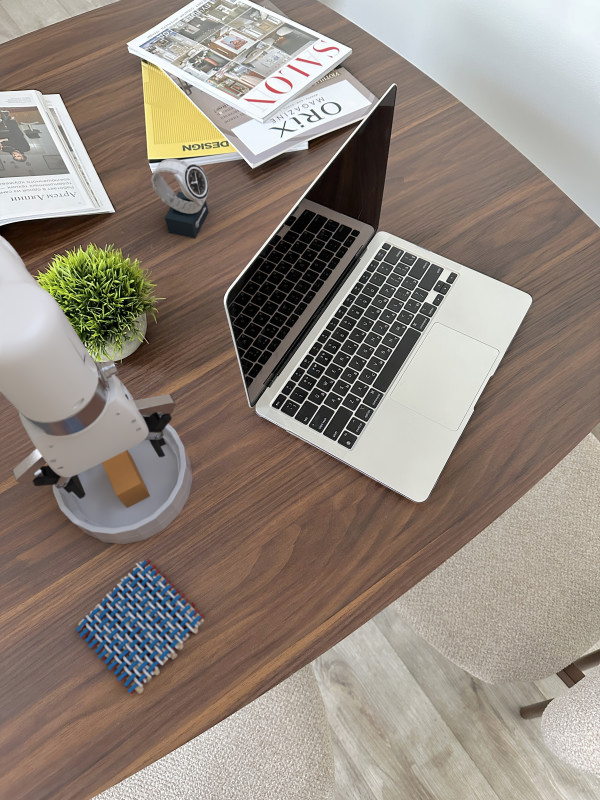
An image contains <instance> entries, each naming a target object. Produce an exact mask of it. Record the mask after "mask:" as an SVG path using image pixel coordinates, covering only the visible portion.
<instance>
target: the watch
mask: <svg viewBox="0 0 600 800" xmlns="http://www.w3.org/2000/svg"><path fill="white" fill-rule="evenodd" d="M160 173H171V174H174V175H173V177H174V179H175V181H176V182H177V183H178V184H179V188H180V190H181V191H178V192H177V194H176V192H175V191H173V189H172V188H171V186H169V184H168V183H167V182H166V180H165V179H164V177H163V176H161V174H160ZM150 179H151V180H150V181H151V184H152V189H153V190H154V192H155V194H156V195H157V196H158V197H159V199H160V200H161V202H163V203H164V204H165V205H166V206H167V207H169V209H168V211H167V213H166V215H165V216H164V220H165V224H166V228H167V231H168V233H169V234H173V235H178V236H182V237H187V238H191V239H196V238H197V236H198V234H199V232H200V230H201V228H202V226H203V225H204V223H205V220H206V218H207V216H208V214H209V208H208V204H207V197H208V196H209V192H210V183H209V179H208V176H207V173H206V171H204V168H203V167H202V166H200V165H198V164H196V163H191V162H189V161H186V160H185V159H183V160H181V159H177V158H166V159H164V160H161V161H160V162H159V163H158V165H157V166H156V168H155V170H154V172H153V173H152V175H151V178H150Z"/></svg>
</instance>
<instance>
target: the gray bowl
mask: <svg viewBox="0 0 600 800" xmlns="http://www.w3.org/2000/svg"><path fill="white" fill-rule="evenodd" d="M163 433H164V436H163V438H164V440H165V442H166V444H165V445H163V446H161V448H162V450H163V452H164V454H165V456H164V457H162V458H161V457H159V456H158V455H157V453H156V451H155V450H154V448H153V446H152V445H151V443H150V441H149V440H143V441H142V442H141V443H139V444H137V445H136V446H134V447H132V448H130V449H128V452H129V453H130V455H131V456H132V458H133V460H134V462H135V464H136V467H137V469H138V471H139V473H140V475H141V477H142V479H143V481H144V484H145V486H146V488H147V490H148V492H149V494H150V496H149V497H148V498H146V499H144V500H142V501H140V502H138V503H136V504H134V505H132V506H130V507H128V508H127V507H126V506H125V505H124V504H123V502H122V501H121V500H120V499H119V498H118V497H117V495H116V493H115V491H114V489H113V487H112V484H111V482H110V480H109V478H108V475H107V473H106V471H105V469H104V466H103V464H102V463H100V464H98V465H96V466H94V467H92V468H90V469H88V470H86V471H84V472H82V473H79V474H77V475H78V477H79V480H80V482H81V484H82V487H83V489H84V492H85V494H86V495H85V497H83V498H81V499H79V498H78V497H77V496H76V495H75V494H74V493H73V492H70V493H68V492H67V491H66V490H65V489H64V488H60V489H57V488H56V487H55V485H52V492H53V494H54V497H55V500H56V502H57V505H58V507H59V509H60V510H61V512H62V513H63V514H64V515H65V516H66V517H67V518H68V519H69V521H71V522H72V523H73V524H74V525H75V526H76V527H77V528H79V530H81V531H82V532H83V533H84V534H86V535H88V536H89V537H92V538H94V539H96V540H99V541H100V542H102V543H106V544H107V543H108V544H117V545H127V544H132V543H137V542H143V541H146V540H147V539H150V538H151V537H153V536H155V535H158V534H159V533H160V532H163V531H164V530H165V529H166V528H167V527H168V526H169V525H170V524H171V523H173V521H174V520H175V519H176V518H178V516H180V514H181V512H182V510H183V508H184V507H185V505H186V503H187V501H188V499H189V497H190V494H191V489H192V485H193V469H192V462H191V458H190V456H189V454H188V452H187V450H186V447H185V445H184V444H183V442H182V440H181V438H180V436H179V434H178V432H177V431H176V429H175V428H174V427H173V426H172V425H171V424H169V423H168V424H167V426H166V427H165V428H164V430H163Z"/></svg>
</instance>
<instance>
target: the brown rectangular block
mask: <svg viewBox="0 0 600 800" xmlns="http://www.w3.org/2000/svg"><path fill="white" fill-rule="evenodd" d="M102 464H103V466H104V469H105V471H106V473H107V475H108V478H109V480H110V482H111V484H112V487H113V489H114V491H115V493H116V495H117V497H118V498H119V499H120V500H121V501H122V502H123V504H124V505H125V506H126V507H127V508H128V507H130V506H132V505H134V504H136V503H138V502H140V501H142V500H144V499H146V498H148V497H149V496H150V494H149V492H148V490H147V488H146V486H145V484H144V481H143V479H142V477H141V475H140V473H139V471H138V469H137V467H136V464H135V462H134V460H133V458H132V456H131V455H130V453H129V452H128V450H126V451H124V452H122V453H120V454H118V455H116V456H114V457H112V458H110V459H108V460H106V461H104V462H102Z"/></svg>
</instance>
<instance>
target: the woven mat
mask: <svg viewBox="0 0 600 800" xmlns="http://www.w3.org/2000/svg"><path fill="white" fill-rule="evenodd" d="M151 562H152V561H151V560H150V559H149V558H148V559H147V560H146V559H145V560H142V561H141V560H140V561H139V562H136V563H135V565H136V566H135V567H133V568H132V573H130V572H128V573H127V576H126V575H125V576H123V577H121V578H120V581H119V583H118V582H117V584H116V586H117V587H113V589H112V590H113V591H108V593H106V594H105V596H106V598H104V597H103V598H102V599H101V601H102V602H101V603H97V604H96V605H95V607H94V608H93V610H91V611H90V612H89V613H88V614H86V615H85V618H82V619H81V620H80V621H79V622H78V624H77V626H78V627H76V629H75V631H76V632H77V633H78V636H79V638H82V639H83V640H85V642H86V643H87V644H88V645H87V646H88V647H89V648H90V649H92V650H94V649H95V648H96V647H97V648H96V649H95V650H94V653H95V654H96V655H98V656H97V658H98V659H99V660H102V661H104V662H103V663H104V664H105V665H106V666H108V667H107V669H108V670H109V671H111V672H113V671H114V670H115V669H116V670H115V671H114V672H113V674H114V675H115V676H116V677H117V680H118V682H121V683H122V682H124V681H125V680H126V681H125V682H124V684H123V686H124V687H125V688H126V689H127V692H128V693H129V694H131V695H133V694H134V693H135V692H137V694H139V695H140V694H142V693H143V692H144V690H145V688H144V684H146V683H147V684H148V683H149V682H150V681H151V680H152V679H153V677H152V676H154V675H156V676H158V675H159V674H160V673H161V672H160V668H159V665H161V666H164V665H165V664H166V663H167V661H168V660H169V658H170V659H171V660H175V659H176V658H178V654H177V653H176V651H175V649H176V650H177V651H181V650H183V649H184V644H183V643H184V642H185V641H187V640H188V639H189V638H190V632H192V633H193V634H195V635H197V634H198V632H199V626H201V625H202V624H203V623H204V622H205V619H204V617H205V615H204V613H199V612H200V610H199V608H195V607H196V604H197V603H195V602H192V603H191V604H190V603H189V602H190V600H189V598H184V597H185V596H186V594H185V593H184V592H182V593H179V592H180V589H179V588H176V589H175V588H174V587H176V586H175V584H174V583H171V584H170V582H171V580H170V579H169V578H166V577H167V575H166V574H165V573H163V574H162V575H161V574H160V572H161V570H160V569H159V568H157V569H156V567H157V565H156V564H155V563H154V564H152V565H151ZM150 592H151V593H150ZM185 627H186V628H185ZM184 628H185V629H184ZM128 634H129V635H128ZM170 643H171V644H170ZM169 644H170V645H169ZM144 649H145V650H144ZM143 650H144V651H143ZM138 677H139V678H138Z"/></svg>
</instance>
